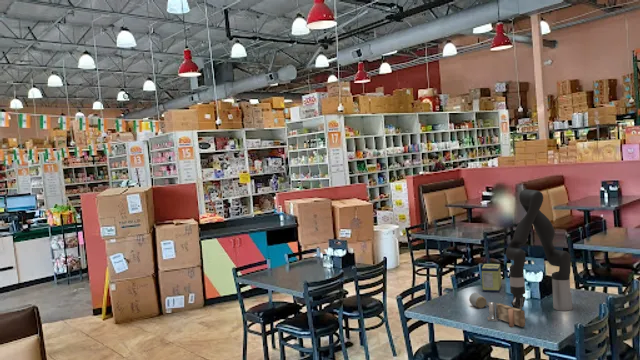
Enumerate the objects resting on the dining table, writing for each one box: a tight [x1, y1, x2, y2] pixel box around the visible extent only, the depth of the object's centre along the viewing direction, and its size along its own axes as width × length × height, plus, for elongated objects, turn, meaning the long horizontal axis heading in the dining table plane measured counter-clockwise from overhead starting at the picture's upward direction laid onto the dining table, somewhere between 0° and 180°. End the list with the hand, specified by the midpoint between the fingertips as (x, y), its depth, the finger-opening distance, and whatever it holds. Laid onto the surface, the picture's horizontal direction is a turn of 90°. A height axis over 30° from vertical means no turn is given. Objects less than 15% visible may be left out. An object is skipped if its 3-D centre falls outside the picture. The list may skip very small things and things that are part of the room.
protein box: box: [481, 263, 503, 293], centre depth 348 cm, size 10×16×16 cm
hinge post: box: [486, 301, 499, 322], centre depth 289 cm, size 5×5×10 cm
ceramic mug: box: [468, 292, 489, 309], centre depth 313 cm, size 11×8×8 cm
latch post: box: [508, 309, 515, 328], centre depth 276 cm, size 2×2×9 cm
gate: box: [494, 302, 526, 328], centre depth 280 cm, size 19×2×8 cm, turn 25°
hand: (519, 316), depth 284 cm, fingers closed
